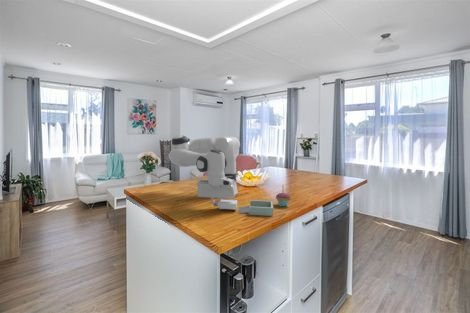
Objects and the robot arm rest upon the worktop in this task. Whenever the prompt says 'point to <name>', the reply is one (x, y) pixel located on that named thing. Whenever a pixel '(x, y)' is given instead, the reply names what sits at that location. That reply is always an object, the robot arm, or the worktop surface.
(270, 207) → the dock
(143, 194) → the worktop surface
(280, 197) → the cupcake
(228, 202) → the white rectangular block
